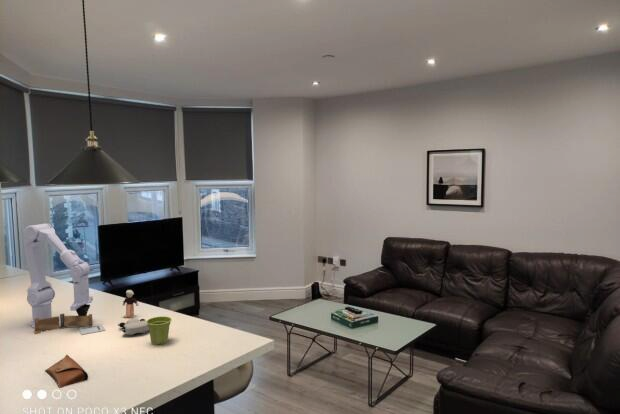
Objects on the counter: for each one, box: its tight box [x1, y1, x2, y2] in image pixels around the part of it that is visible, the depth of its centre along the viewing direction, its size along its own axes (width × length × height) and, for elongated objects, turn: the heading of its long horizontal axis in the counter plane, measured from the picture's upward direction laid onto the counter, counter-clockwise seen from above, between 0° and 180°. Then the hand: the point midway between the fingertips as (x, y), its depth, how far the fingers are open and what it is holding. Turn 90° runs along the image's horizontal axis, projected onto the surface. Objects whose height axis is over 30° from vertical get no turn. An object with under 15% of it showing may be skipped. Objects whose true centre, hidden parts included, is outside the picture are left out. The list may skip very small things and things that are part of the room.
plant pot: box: [145, 315, 172, 345], centre depth 168 cm, size 9×9×9 cm
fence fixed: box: [33, 315, 68, 335], centre depth 182 cm, size 5×12×6 cm, turn 124°
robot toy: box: [117, 318, 149, 336], centre depth 180 cm, size 12×4×15 cm
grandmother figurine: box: [122, 289, 139, 319], centre depth 197 cm, size 8×4×13 cm, turn 92°
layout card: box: [78, 323, 106, 336], centre depth 182 cm, size 9×9×1 cm
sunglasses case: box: [44, 354, 89, 389], centre depth 141 cm, size 18×7×7 cm
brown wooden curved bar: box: [59, 313, 94, 327], centre depth 184 cm, size 14×2×5 cm, turn 90°
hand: (82, 321), depth 186 cm, fingers closed
